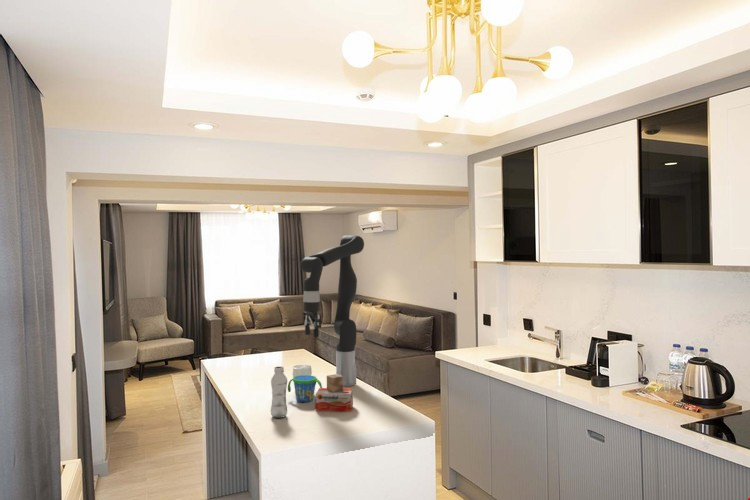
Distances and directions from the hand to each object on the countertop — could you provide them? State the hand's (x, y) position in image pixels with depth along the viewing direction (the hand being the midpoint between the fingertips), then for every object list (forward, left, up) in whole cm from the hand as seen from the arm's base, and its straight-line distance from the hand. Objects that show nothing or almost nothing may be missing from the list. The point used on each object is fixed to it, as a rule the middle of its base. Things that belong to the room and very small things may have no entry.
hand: (311, 335), depth 235 cm
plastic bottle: (+24, +18, -28) cm, 41 cm away
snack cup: (+5, +3, -28) cm, 29 cm away
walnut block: (0, +21, -20) cm, 29 cm away
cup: (0, -10, -28) cm, 30 cm away
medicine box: (0, +21, -29) cm, 36 cm away
